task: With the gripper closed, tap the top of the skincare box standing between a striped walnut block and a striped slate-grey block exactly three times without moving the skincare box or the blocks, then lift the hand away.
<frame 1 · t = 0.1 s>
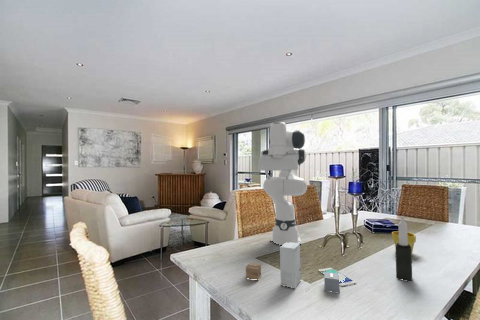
hand: (277, 179, 123), 39 cm above the table, tool pointing down, fingers open, 8 cm apart
skincare box: (290, 283, 94), on the table
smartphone: (336, 278, 99), on the table
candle: (404, 278, 98), on the table
walnut block: (253, 277, 99), on the table
slate block: (331, 289, 90), on the table
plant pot: (404, 253, 126), on the table
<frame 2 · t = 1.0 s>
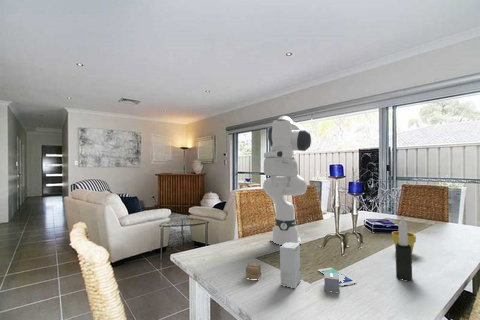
hand: (281, 187, 104), 37 cm above the table, tool pointing down, fingers open, 8 cm apart
nothing on the table moved.
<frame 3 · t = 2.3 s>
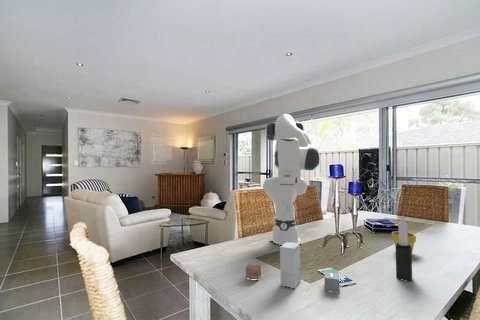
hand: (289, 213, 95), 27 cm above the table, tool pointing down, fingers closed
nothing on the table moved.
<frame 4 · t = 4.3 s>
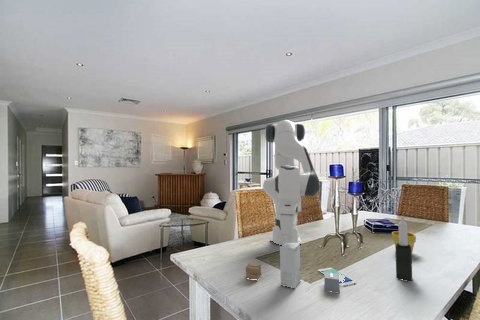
hand: (290, 241, 95), 16 cm above the table, tool pointing down, fingers closed
nothing on the table moved.
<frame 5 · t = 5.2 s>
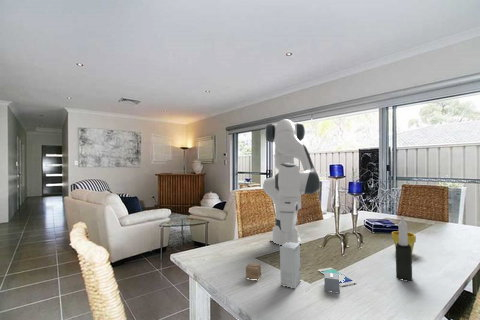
hand: (290, 239, 95), 17 cm above the table, tool pointing down, fingers closed
nothing on the table moved.
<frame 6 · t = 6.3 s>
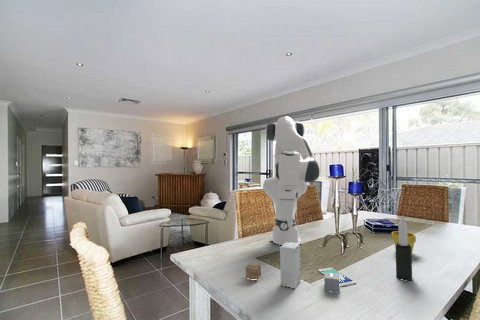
hand: (290, 226, 97), 22 cm above the table, tool pointing down, fingers closed
nothing on the table moved.
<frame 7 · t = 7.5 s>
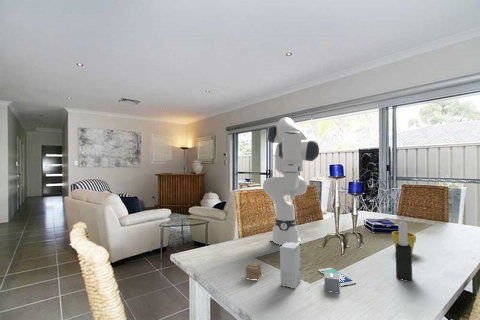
hand: (292, 199, 106), 31 cm above the table, tool pointing down, fingers closed
nothing on the table moved.
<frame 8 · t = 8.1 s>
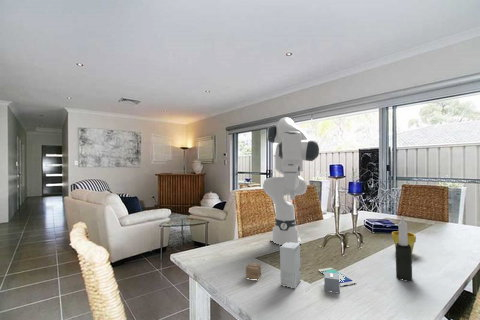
hand: (292, 199, 106), 31 cm above the table, tool pointing down, fingers closed
nothing on the table moved.
at the end: skincare box moved 0.2 cm from its start; skincare box tilted 0°; slate block moved 0.1 cm from its start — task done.
